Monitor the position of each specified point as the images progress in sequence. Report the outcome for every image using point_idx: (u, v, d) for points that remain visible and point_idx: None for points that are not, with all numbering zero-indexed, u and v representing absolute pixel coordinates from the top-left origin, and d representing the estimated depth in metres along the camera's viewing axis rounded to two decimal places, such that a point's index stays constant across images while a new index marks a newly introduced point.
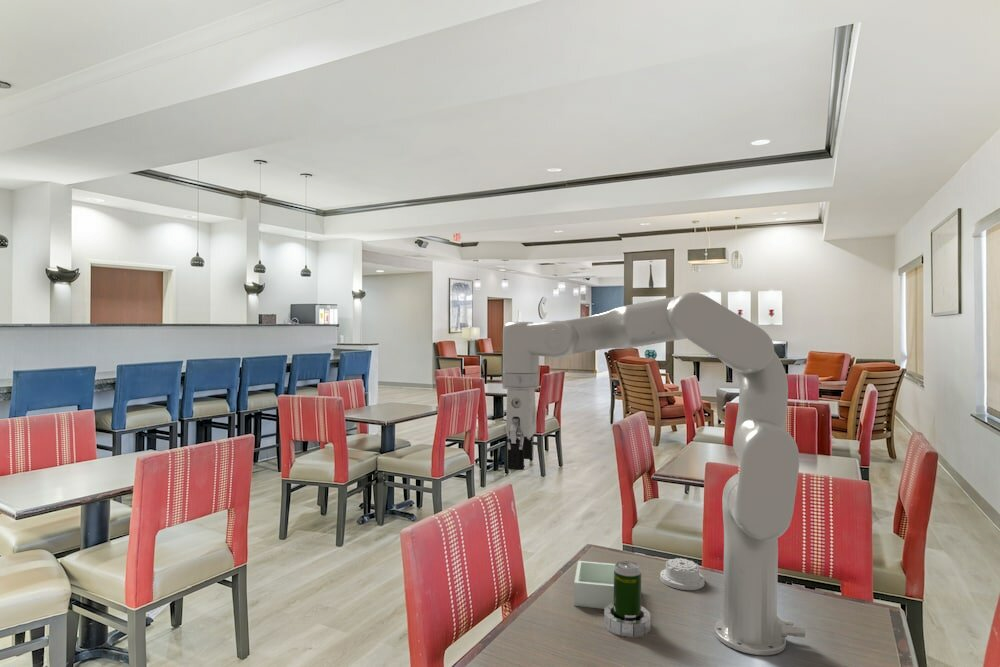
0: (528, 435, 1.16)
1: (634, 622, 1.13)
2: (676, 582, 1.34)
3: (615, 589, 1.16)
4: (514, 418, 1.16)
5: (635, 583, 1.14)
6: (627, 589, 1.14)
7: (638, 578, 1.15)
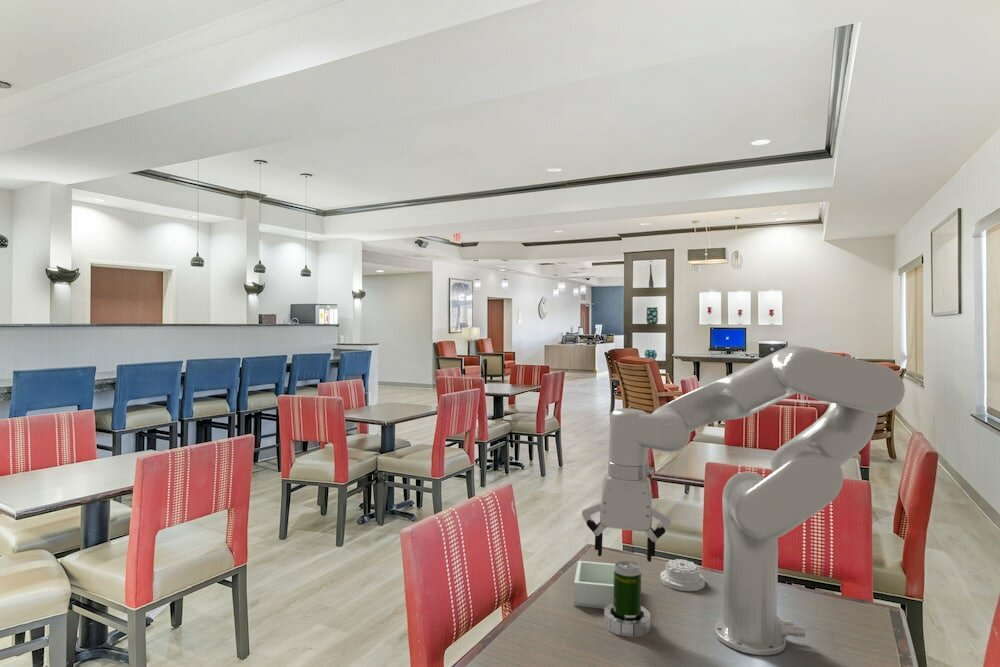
0: None
1: (634, 622, 1.13)
2: (676, 583, 1.34)
3: (615, 589, 1.16)
4: (652, 508, 1.15)
5: (635, 583, 1.14)
6: (627, 589, 1.14)
7: (638, 578, 1.15)
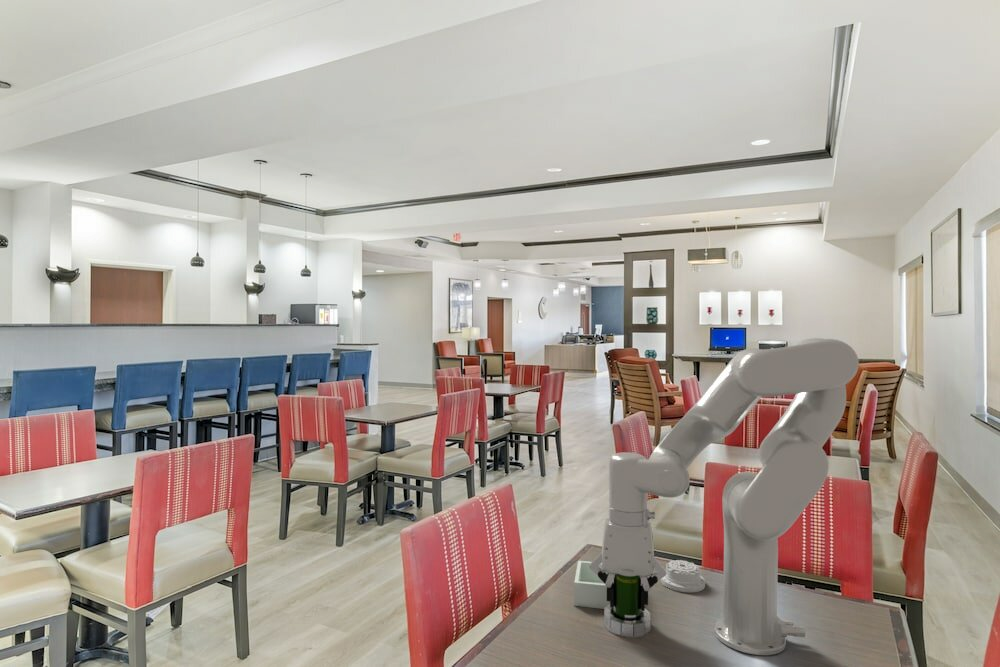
0: None
1: (634, 622, 1.13)
2: (676, 584, 1.33)
3: (615, 589, 1.16)
4: None
5: (635, 583, 1.14)
6: (627, 589, 1.14)
7: (638, 578, 1.15)
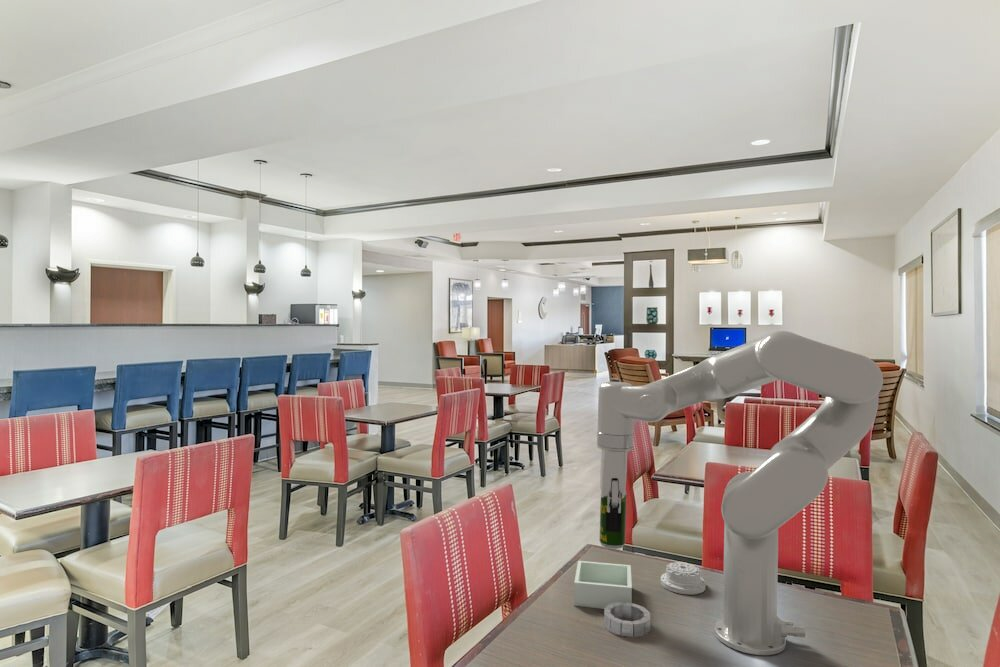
0: None
1: (634, 622, 1.13)
2: (677, 586, 1.32)
3: None
4: None
5: None
6: None
7: None
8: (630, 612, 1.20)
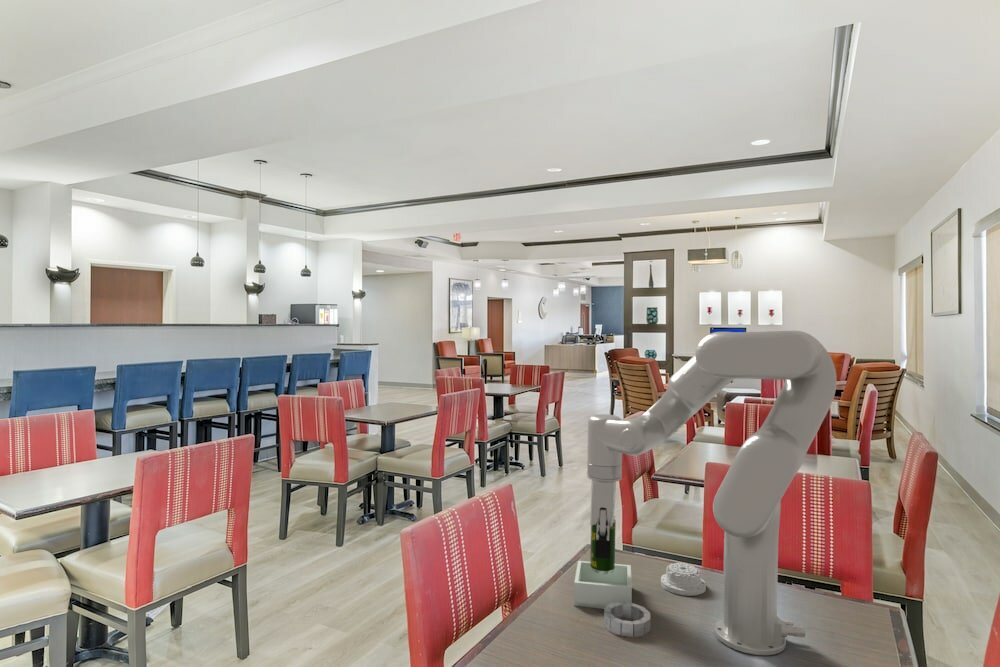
0: None
1: (634, 622, 1.13)
2: (677, 587, 1.31)
3: None
4: None
5: None
6: None
7: None
8: (630, 612, 1.20)
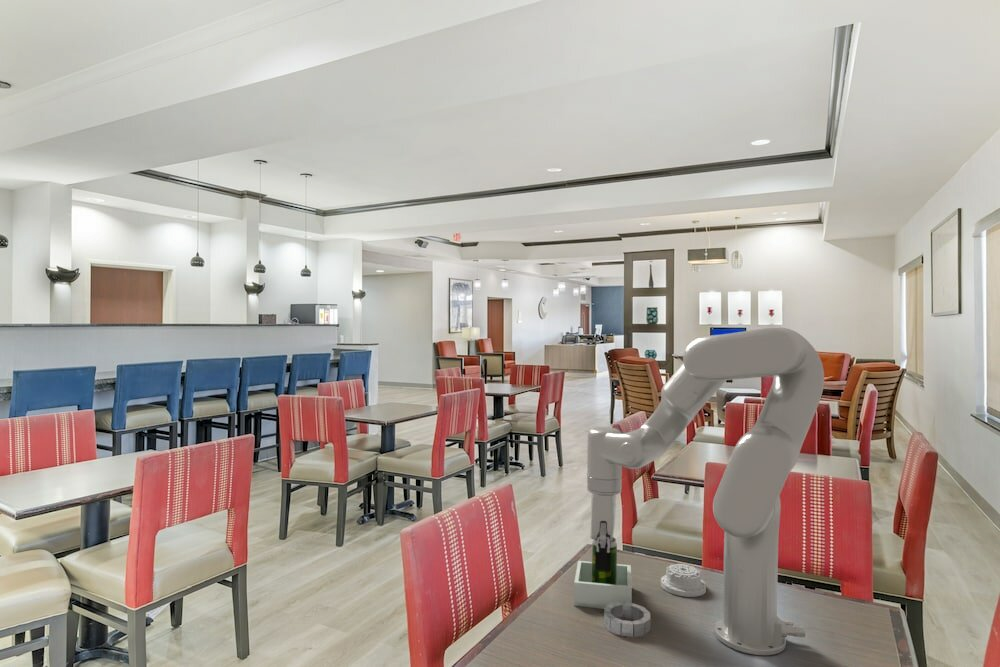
0: None
1: (634, 622, 1.13)
2: (677, 588, 1.31)
3: None
4: None
5: None
6: (616, 556, 1.29)
7: None
8: (630, 612, 1.20)
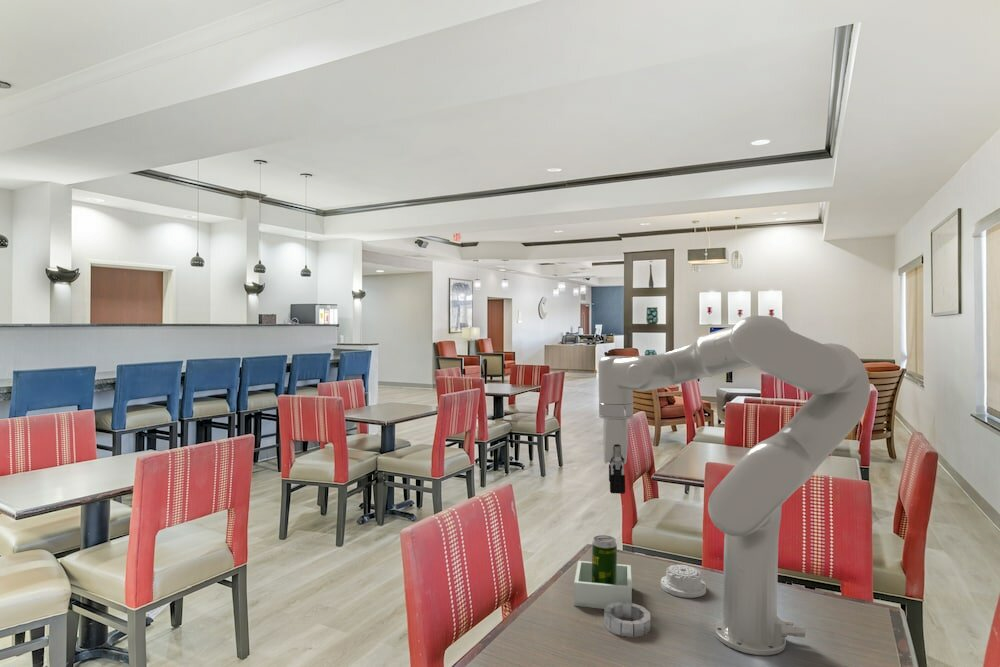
0: None
1: (634, 622, 1.13)
2: (677, 589, 1.30)
3: (610, 564, 1.27)
4: None
5: None
6: (616, 556, 1.29)
7: None
8: (630, 612, 1.20)
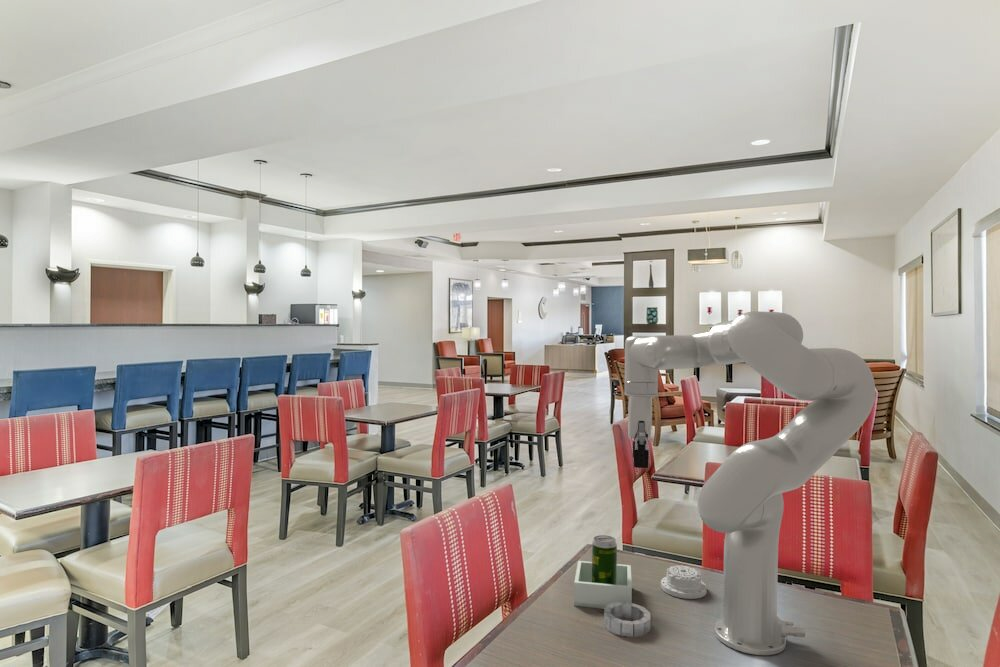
0: None
1: (634, 622, 1.13)
2: (677, 590, 1.30)
3: (610, 564, 1.27)
4: None
5: None
6: (616, 556, 1.29)
7: None
8: (630, 612, 1.20)
